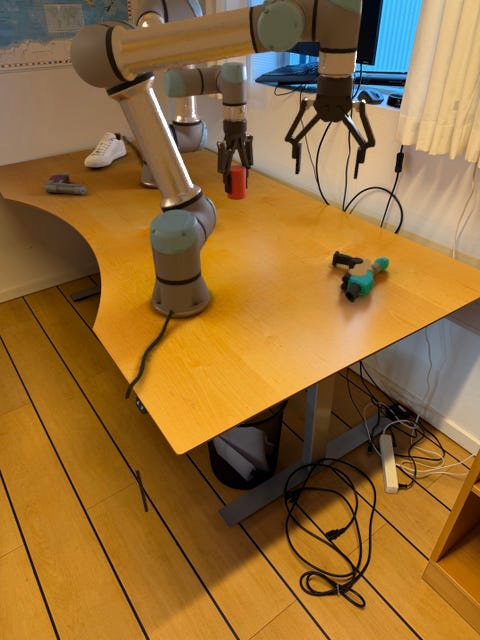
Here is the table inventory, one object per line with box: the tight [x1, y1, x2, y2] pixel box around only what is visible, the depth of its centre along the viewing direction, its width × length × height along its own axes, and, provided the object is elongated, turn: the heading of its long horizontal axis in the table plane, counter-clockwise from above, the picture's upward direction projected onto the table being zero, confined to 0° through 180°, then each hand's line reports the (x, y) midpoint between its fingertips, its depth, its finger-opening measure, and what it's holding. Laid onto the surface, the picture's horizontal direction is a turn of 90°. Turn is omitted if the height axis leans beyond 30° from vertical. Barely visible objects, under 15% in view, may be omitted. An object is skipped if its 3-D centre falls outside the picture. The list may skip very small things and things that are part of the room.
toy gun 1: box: [42, 173, 87, 195], centre depth 192 cm, size 4×19×15 cm
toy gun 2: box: [331, 250, 390, 303], centre depth 132 cm, size 4×26×15 cm
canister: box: [226, 164, 247, 201], centre depth 161 cm, size 6×6×10 cm
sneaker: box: [83, 131, 127, 169], centre depth 218 cm, size 10×29×12 cm, turn 163°
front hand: (326, 174), depth 112 cm, fingers open, 13 cm apart
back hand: (236, 190), depth 162 cm, fingers closed on canister, 6 cm apart
